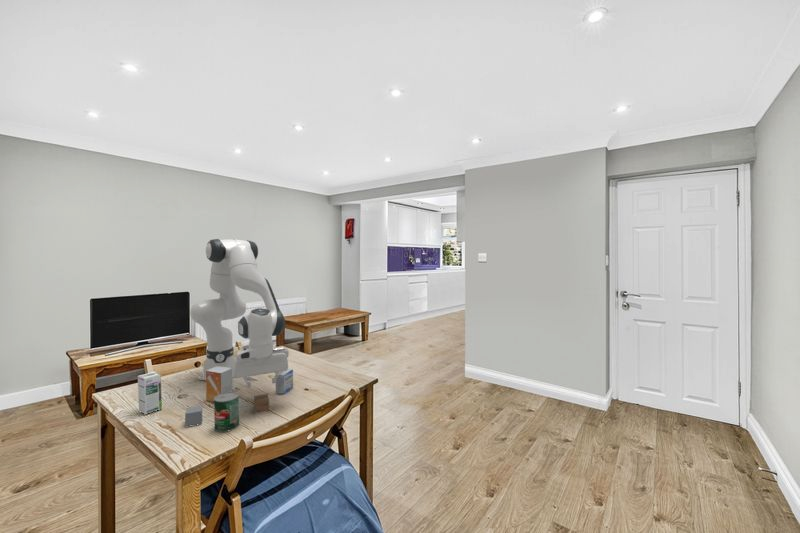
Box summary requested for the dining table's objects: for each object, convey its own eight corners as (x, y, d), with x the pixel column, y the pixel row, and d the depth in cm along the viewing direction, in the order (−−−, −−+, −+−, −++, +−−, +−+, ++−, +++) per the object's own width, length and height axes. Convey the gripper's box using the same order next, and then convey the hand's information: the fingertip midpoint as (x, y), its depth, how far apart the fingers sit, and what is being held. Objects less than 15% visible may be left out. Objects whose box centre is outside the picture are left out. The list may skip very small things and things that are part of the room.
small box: (205, 401, 144) (205, 370, 143) (218, 395, 150) (217, 365, 149) (221, 404, 141) (220, 372, 141) (233, 397, 147) (232, 367, 147)
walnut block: (254, 408, 138) (254, 395, 138) (267, 405, 140) (267, 393, 140) (255, 413, 134) (255, 400, 134) (268, 410, 136) (268, 398, 136)
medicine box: (284, 394, 151) (284, 375, 151) (275, 393, 152) (275, 374, 152) (293, 387, 159) (293, 369, 158) (284, 386, 160) (284, 368, 159)
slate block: (186, 421, 127) (186, 408, 127) (202, 418, 129) (202, 405, 129) (185, 427, 122) (185, 413, 122) (201, 424, 125) (201, 411, 125)
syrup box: (145, 415, 131) (144, 378, 130) (138, 411, 134) (137, 375, 133) (162, 409, 136) (161, 373, 135) (155, 406, 139) (154, 370, 138)
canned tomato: (242, 420, 128) (241, 391, 127) (234, 431, 120) (234, 400, 120) (219, 421, 127) (219, 392, 126) (210, 432, 119) (210, 401, 119)
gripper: (287, 345, 143) (287, 377, 144) (232, 351, 134) (233, 386, 135) (289, 349, 138) (290, 383, 138) (233, 355, 129) (233, 392, 129)
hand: (261, 384), depth 137 cm, fingers open, 8 cm apart
